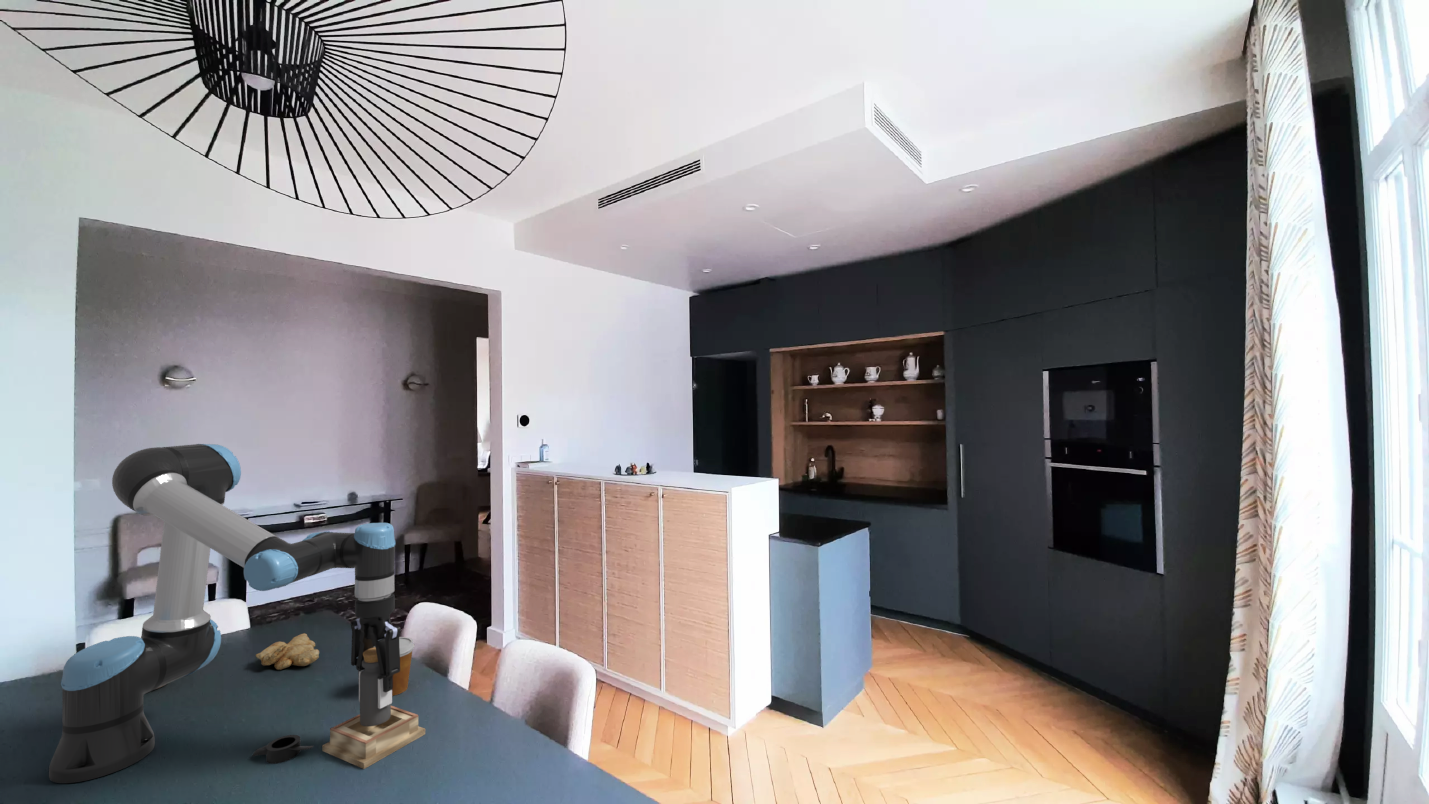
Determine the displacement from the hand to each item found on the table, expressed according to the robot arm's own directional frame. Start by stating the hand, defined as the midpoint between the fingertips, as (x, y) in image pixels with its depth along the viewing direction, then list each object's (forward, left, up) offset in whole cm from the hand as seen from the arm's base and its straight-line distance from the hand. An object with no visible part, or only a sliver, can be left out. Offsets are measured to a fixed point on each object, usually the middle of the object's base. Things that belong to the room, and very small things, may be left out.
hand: (375, 701), depth 128 cm
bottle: (0, 0, -4) cm, 4 cm away
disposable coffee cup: (-18, +17, -9) cm, 26 cm away
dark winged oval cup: (-13, -12, -9) cm, 20 cm away
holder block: (0, 0, -9) cm, 9 cm away
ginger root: (-60, +14, -9) cm, 62 cm away
